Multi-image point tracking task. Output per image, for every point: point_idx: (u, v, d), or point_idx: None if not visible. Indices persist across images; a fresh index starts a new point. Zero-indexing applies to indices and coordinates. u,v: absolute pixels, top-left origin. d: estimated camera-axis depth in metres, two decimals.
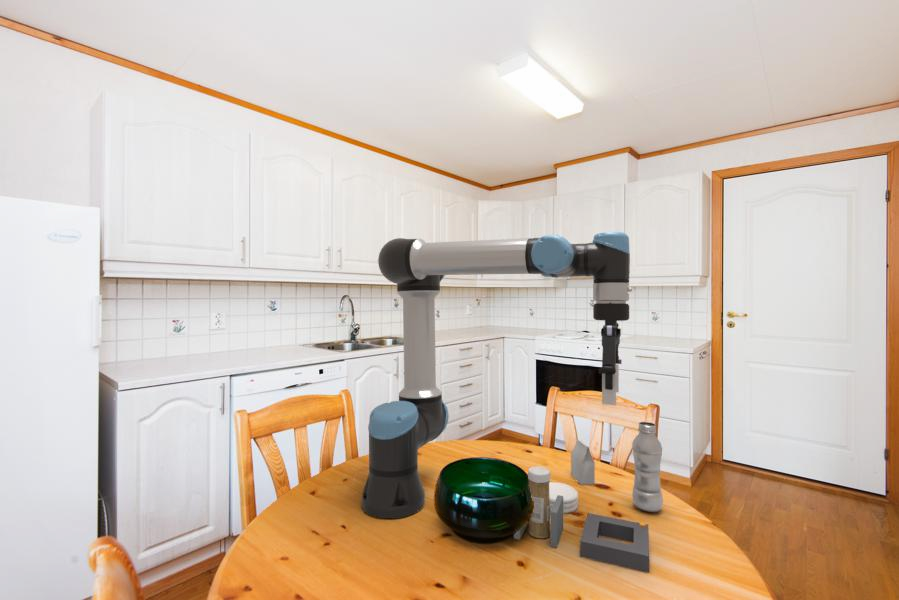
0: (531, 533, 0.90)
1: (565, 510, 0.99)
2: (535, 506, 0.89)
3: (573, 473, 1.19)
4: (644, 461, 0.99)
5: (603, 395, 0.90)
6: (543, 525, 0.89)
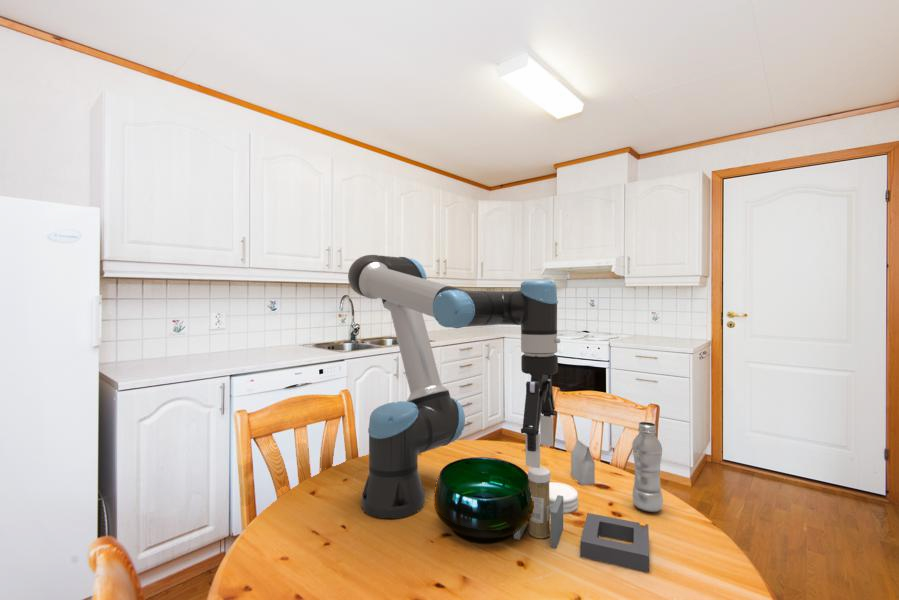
0: (531, 533, 0.90)
1: (565, 510, 0.99)
2: (535, 506, 0.89)
3: (573, 474, 1.19)
4: (645, 462, 0.99)
5: (527, 456, 0.84)
6: (543, 525, 0.89)
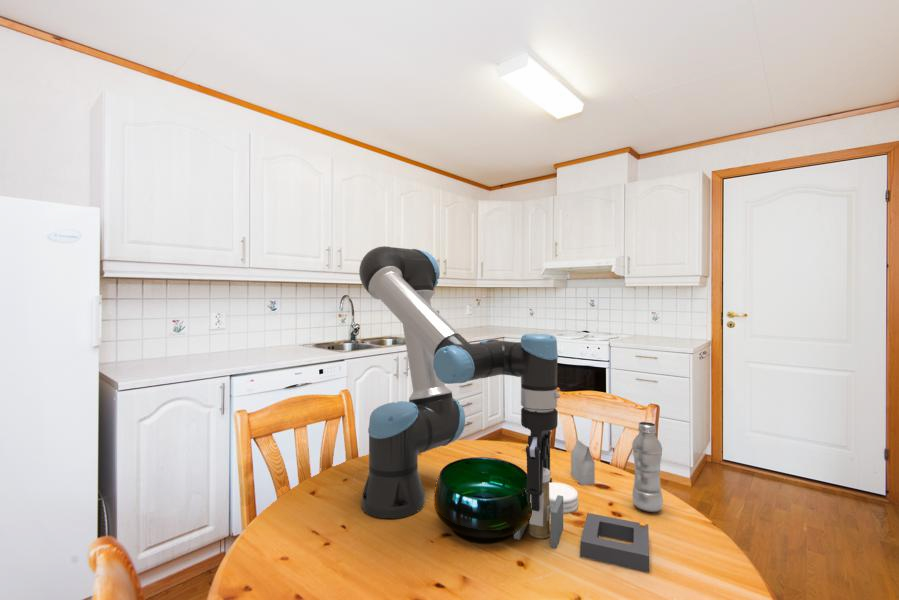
0: (531, 533, 0.90)
1: (565, 510, 0.99)
2: None
3: (573, 474, 1.19)
4: (644, 461, 0.99)
5: None
6: (543, 525, 0.89)
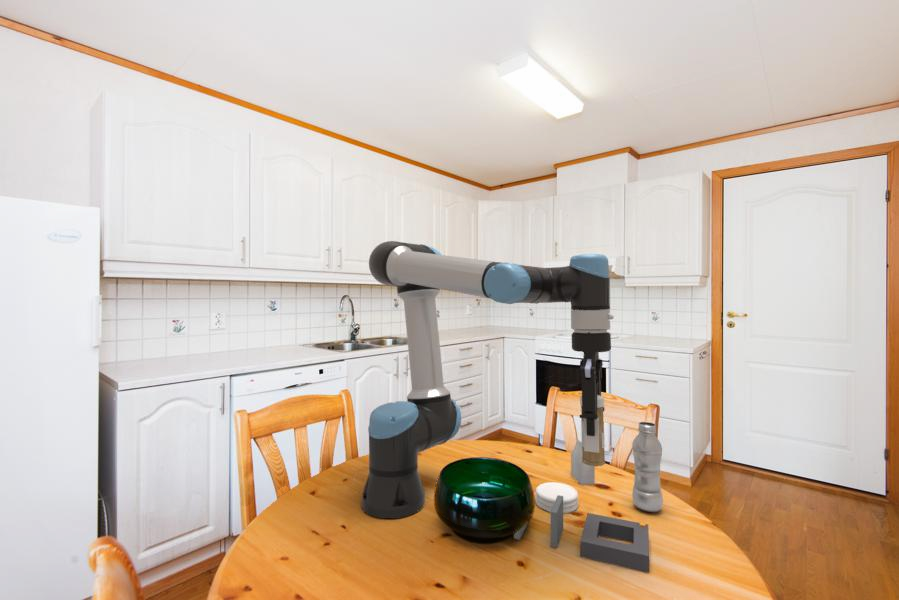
0: (585, 462, 0.86)
1: (565, 510, 0.99)
2: None
3: (573, 474, 1.19)
4: (644, 461, 0.99)
5: (585, 441, 0.84)
6: None
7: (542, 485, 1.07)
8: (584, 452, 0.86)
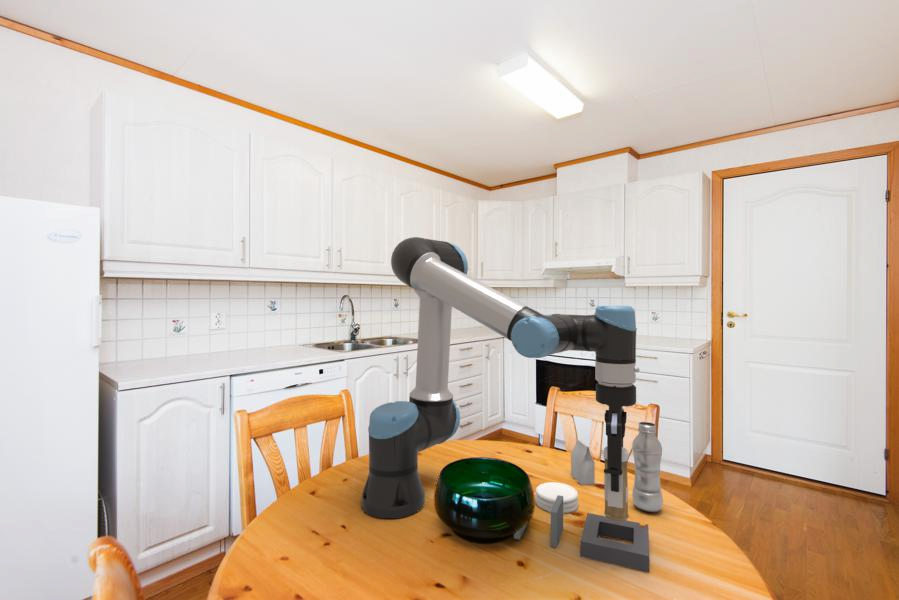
0: (608, 516, 0.84)
1: (565, 510, 0.99)
2: None
3: (573, 474, 1.19)
4: (645, 462, 0.99)
5: (609, 496, 0.83)
6: None
7: (542, 485, 1.07)
8: (607, 506, 0.85)
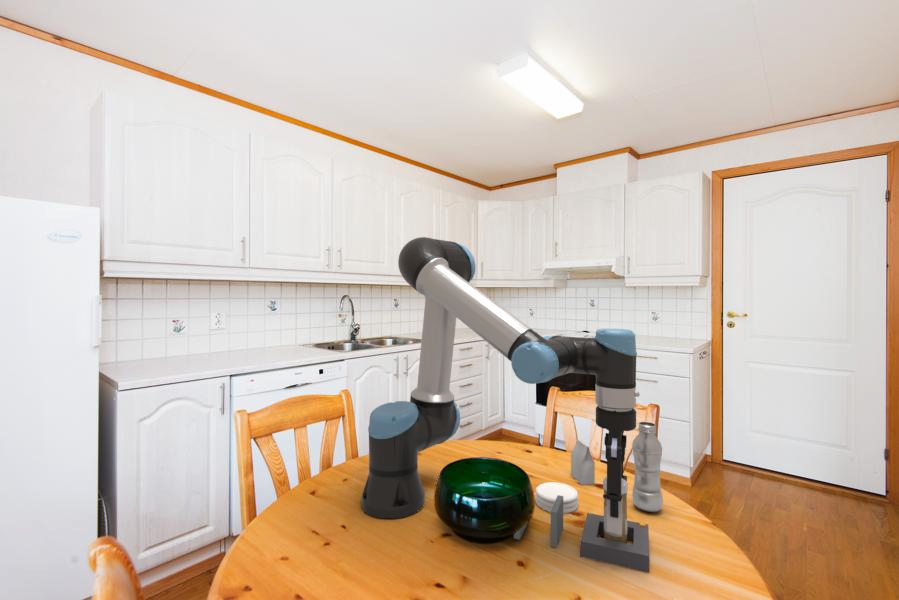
0: None
1: (565, 510, 0.99)
2: None
3: (573, 474, 1.19)
4: (644, 461, 0.99)
5: (608, 521, 0.82)
6: (621, 539, 0.83)
7: (542, 485, 1.07)
8: (606, 537, 0.85)
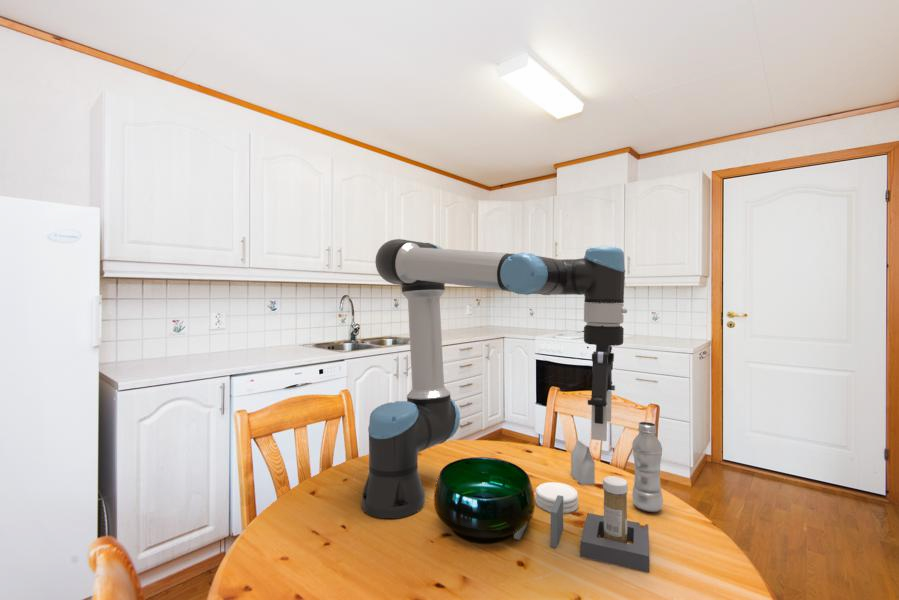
0: None
1: (565, 510, 0.99)
2: (613, 519, 0.84)
3: (573, 474, 1.19)
4: (644, 461, 0.99)
5: (592, 429, 0.81)
6: (621, 539, 0.83)
7: (542, 485, 1.07)
8: (606, 537, 0.85)
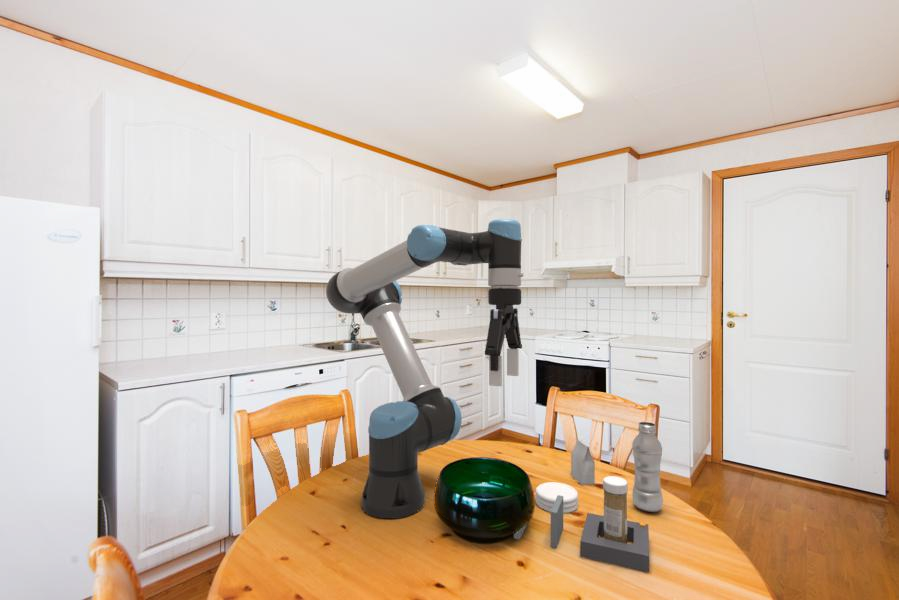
0: None
1: (565, 510, 0.99)
2: (613, 519, 0.84)
3: (573, 474, 1.19)
4: (644, 461, 0.99)
5: (490, 376, 0.93)
6: (621, 539, 0.83)
7: (542, 485, 1.07)
8: (606, 537, 0.85)
